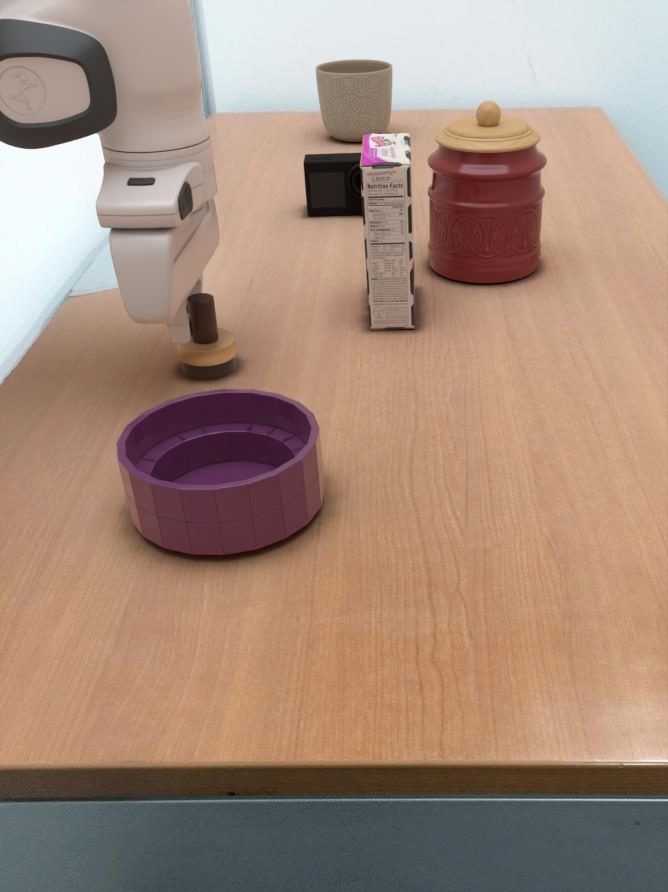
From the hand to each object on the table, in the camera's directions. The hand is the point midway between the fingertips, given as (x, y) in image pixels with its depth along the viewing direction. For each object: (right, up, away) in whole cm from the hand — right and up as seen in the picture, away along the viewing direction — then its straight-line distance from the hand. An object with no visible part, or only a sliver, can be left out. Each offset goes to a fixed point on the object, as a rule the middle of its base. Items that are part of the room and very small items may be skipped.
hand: (188, 330), depth 88 cm
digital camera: (+12, +24, +40) cm, 48 cm away
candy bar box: (+19, +5, +13) cm, 23 cm away
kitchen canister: (+29, +12, +23) cm, 39 cm away
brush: (+1, -3, +2) cm, 4 cm away
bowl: (+7, -17, -17) cm, 25 cm away
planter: (+12, +48, +72) cm, 87 cm away
